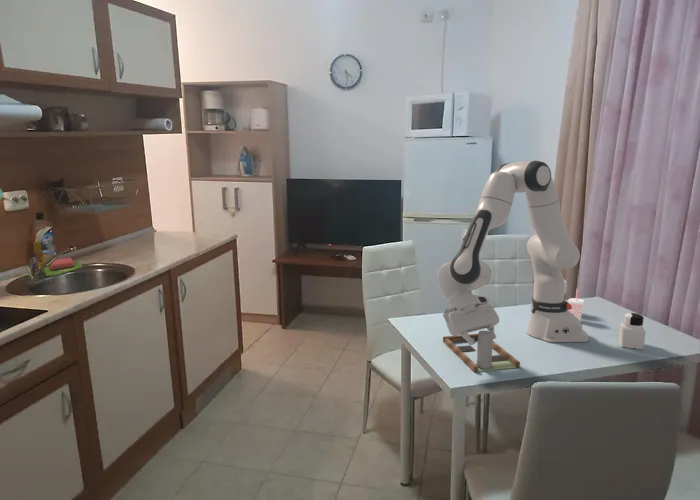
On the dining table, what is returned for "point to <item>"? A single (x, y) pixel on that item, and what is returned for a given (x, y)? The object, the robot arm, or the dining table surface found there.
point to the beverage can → (484, 349)
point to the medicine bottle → (632, 331)
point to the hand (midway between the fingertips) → (483, 341)
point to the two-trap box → (497, 360)
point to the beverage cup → (576, 306)
